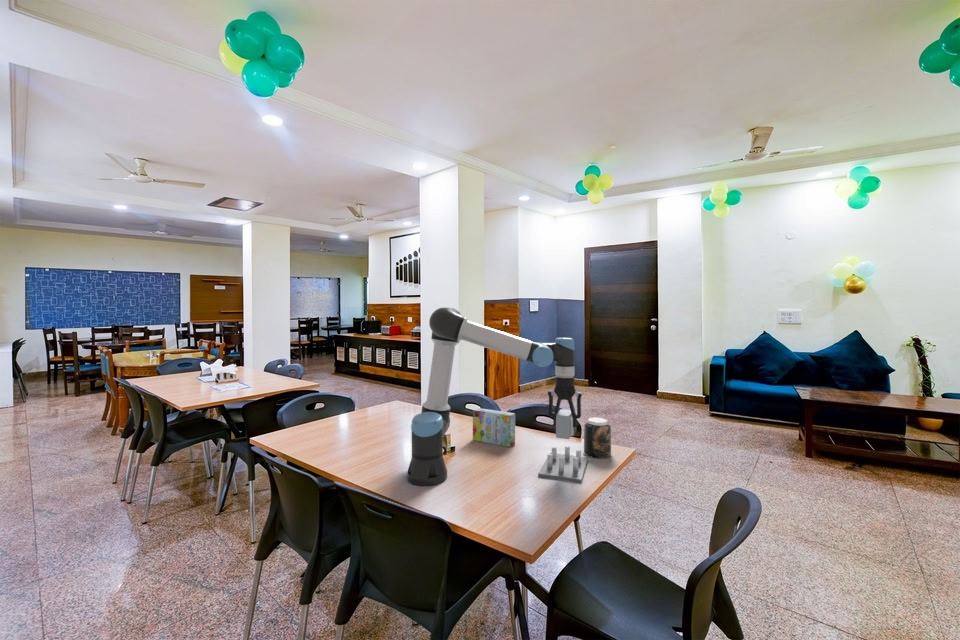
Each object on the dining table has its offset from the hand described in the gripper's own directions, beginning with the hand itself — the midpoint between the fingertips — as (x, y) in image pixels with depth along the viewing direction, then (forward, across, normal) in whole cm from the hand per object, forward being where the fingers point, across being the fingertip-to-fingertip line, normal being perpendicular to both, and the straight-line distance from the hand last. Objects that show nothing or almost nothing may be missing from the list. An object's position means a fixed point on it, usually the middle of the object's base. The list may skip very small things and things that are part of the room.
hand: (564, 434), depth 160 cm
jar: (+14, +11, +22) cm, 28 cm away
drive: (0, 0, 0) cm, 0 cm away
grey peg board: (+14, 0, 0) cm, 14 cm away
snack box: (+14, -37, +20) cm, 44 cm away
